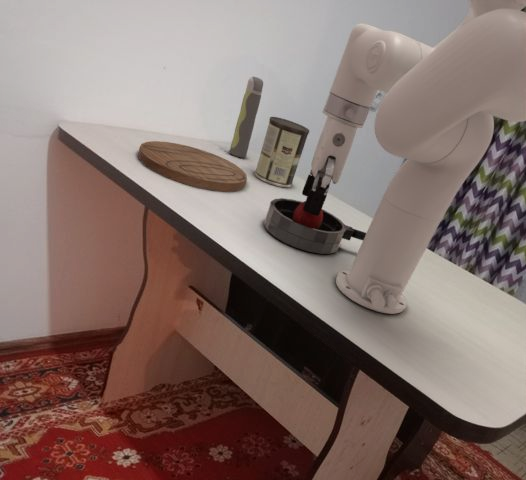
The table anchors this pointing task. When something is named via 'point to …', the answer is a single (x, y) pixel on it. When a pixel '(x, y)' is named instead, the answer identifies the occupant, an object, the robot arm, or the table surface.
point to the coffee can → (281, 152)
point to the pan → (303, 228)
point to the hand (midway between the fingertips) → (309, 204)
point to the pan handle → (353, 233)
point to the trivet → (192, 166)
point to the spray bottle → (247, 118)
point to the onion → (307, 217)
